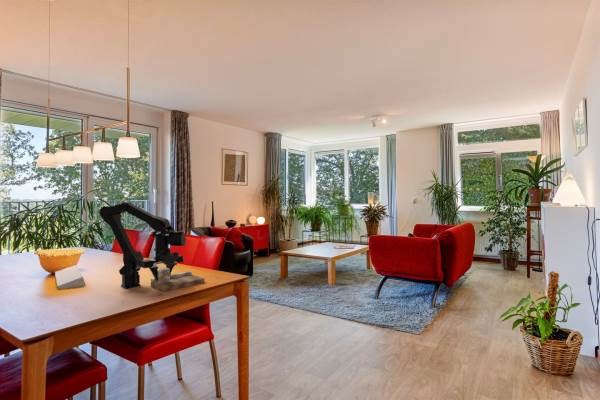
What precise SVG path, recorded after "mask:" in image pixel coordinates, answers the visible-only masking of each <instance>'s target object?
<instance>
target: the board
mask: <svg viewBox="0 0 600 400" xmlns="http://www.w3.org/2000/svg"><path fill="white" fill-rule="evenodd" d="M203 283H205V277H201V276H199V275H196V274H193V271H190V270H189V271H184V272H178V273H173V274H171V276H170V282H166V283H161V284H158V283H155V278H154V277H153V278H150V287H151V288H154V289H157V290H160V291H162V292H164V293H165V292H167V291H169V292H170V291H172V290H179V289H181V288H186V287H190V286H195V285H199V284H203Z"/></svg>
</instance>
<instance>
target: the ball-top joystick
mask: <svg viewBox="0 0 600 400" xmlns="http://www.w3.org/2000/svg"><path fill="white" fill-rule="evenodd" d="M157 273H158V281H156V280H155V283H158V284H161V283H166V282H170V276H171V275H172V272H171V273H170V269H169V268H166V267H160V268H158V270H157Z"/></svg>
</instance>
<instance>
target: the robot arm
mask: <svg viewBox="0 0 600 400" xmlns="http://www.w3.org/2000/svg"><path fill="white" fill-rule="evenodd" d="M123 213H128V214H129V215H131V216H133V217H135V218H137V219H139V220H140V221H142V222H145V224H147V225H148V226H149V227H150V228H151V229H152V230H154V231H153V232H152V233H151V235H150V237H151V238H152V237H154V238H155V239H154V245H155V247H154V248H153V250H154V252H155V256H154V257H153V259H145V257H144V256H143V254H142V251H141V250H135V249H134V246H133V244H132V242H131V240H130V237H129V235H128V234H127V232H126V229H125V227H124V225H123V224H122V214H123ZM99 216H100V218H101V219H102V221H103V222H105V224H107V225H108V226H109V227H110V230H111V231H112V233H113V235H114V237H115V239H116V242H117V244H118V246H119V248H120V250H121V252H122V254H123V255H122V262H123V265H122V267H121V268H119V270H118V272H119V274H120V276H121V284H120V287H121V288H124V289H130V288H135V287H139V286H141V284H140V283H141V282H140V281H141V280H140V278H141V277H140V274H139V271H141V268H142V269H149V271H150V272H151V274H152V276H153V278H155V280H156V281H158V273H157V270H158V269H159V266H157V265H159V264H164V265H165V268H169V269H170V273H171V274H172V271H173V269H174V267H176V266H177V265H178V264H179V263H184V261H185V260H184V259H185V258H184V256H183V255H180V254H179V252H178V251H174V252H171V251H172V250H171V248H170V246H171V247H185V245H186V242H187V238H186V235H185V231H183V230H182V231H175V229H174V227H173V226H172V225H171V222H170V220H169V219H168V218H166V217H162V216H158V215H154V214H152V213H150V212H148V211H146V210H144V209H143V208H140V206H136V205H135V204H133V203H132V202H130V201H128V202H127V201H123V202H121V203H118V204H113V205H103V206H102V207H101V208H100V210H99ZM169 245H170V246H169Z"/></svg>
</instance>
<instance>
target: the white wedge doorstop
mask: <svg viewBox="0 0 600 400" xmlns="http://www.w3.org/2000/svg"><path fill="white" fill-rule="evenodd" d="M54 274H55V276H54V277H55V281H56V287H57V288H58V289H59V290H64V289H70V288H74V287H75V288H76V287H79V288H80V287H84V286H85V287H86V286H87V285H86V282H85V280H84V276H83V275H82V273H81V271H80V269H79V266H78V264H75V265H71V266H68V267H65V268H63V269H60V270H57V271H54Z"/></svg>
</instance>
